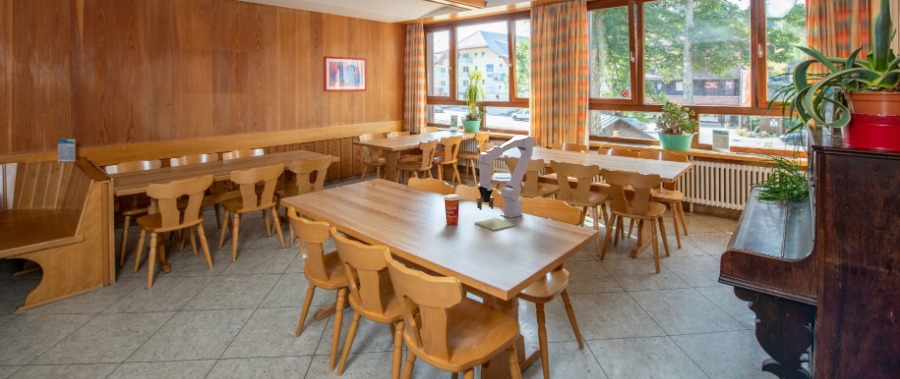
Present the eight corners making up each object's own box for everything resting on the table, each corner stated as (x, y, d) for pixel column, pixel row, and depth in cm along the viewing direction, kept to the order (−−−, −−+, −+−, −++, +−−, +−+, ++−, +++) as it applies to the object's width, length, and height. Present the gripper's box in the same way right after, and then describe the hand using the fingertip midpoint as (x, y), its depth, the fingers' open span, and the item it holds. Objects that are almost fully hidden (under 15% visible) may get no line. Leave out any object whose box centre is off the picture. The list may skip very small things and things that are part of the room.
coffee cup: (441, 225, 247) (440, 196, 244) (449, 221, 254) (448, 193, 251) (456, 227, 243) (455, 198, 240) (463, 222, 250) (462, 194, 247)
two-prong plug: (491, 206, 257) (490, 195, 256) (494, 208, 252) (494, 197, 251) (476, 207, 255) (476, 196, 254) (479, 210, 250) (479, 198, 249)
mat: (495, 219, 255) (495, 217, 255) (515, 226, 242) (515, 224, 242) (474, 223, 248) (474, 222, 248) (493, 231, 235) (493, 229, 234)
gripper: (473, 173, 256) (474, 198, 259) (482, 178, 242) (482, 204, 245) (486, 173, 257) (486, 197, 260) (495, 177, 244) (495, 203, 246)
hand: (485, 201), depth 253 cm, fingers closed on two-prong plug, 5 cm apart
